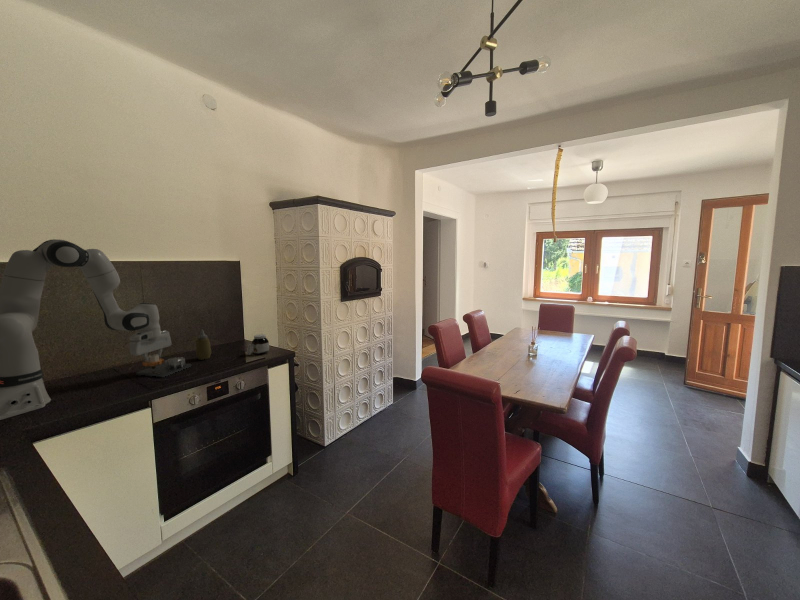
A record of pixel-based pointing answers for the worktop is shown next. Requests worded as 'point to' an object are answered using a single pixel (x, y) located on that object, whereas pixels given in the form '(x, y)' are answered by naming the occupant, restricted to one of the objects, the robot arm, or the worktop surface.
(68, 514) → the worktop surface
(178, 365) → the carrier
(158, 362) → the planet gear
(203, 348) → the squeeze bottle
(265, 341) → the spread jar
